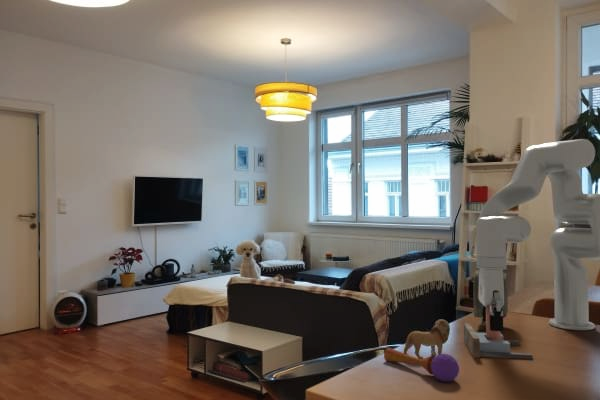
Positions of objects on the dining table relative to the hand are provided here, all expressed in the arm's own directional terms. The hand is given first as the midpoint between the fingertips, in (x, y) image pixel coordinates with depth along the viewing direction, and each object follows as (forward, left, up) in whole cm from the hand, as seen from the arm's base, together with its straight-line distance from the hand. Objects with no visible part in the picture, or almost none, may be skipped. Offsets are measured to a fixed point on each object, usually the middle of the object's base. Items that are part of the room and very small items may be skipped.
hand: (492, 325), depth 127 cm
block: (0, -1, -6) cm, 6 cm away
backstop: (0, +1, -6) cm, 6 cm away
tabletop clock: (-24, +4, -7) cm, 26 cm away
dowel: (0, 0, -6) cm, 6 cm away
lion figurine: (+8, -18, -7) cm, 21 cm away
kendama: (+21, -20, -7) cm, 30 cm away
